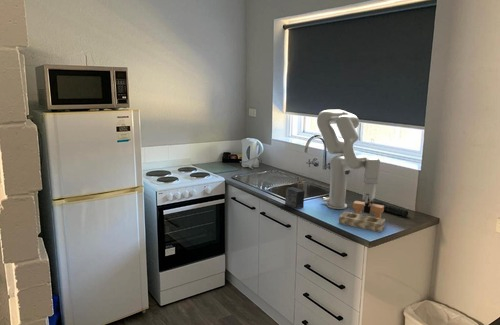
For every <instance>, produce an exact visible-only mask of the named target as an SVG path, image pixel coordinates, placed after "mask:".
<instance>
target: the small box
mask: <svg viewBox="0 0 500 325" xmlns="http://www.w3.org/2000/svg"><path fill="white" fill-rule="evenodd" d="M284 203H285V205H286V206H288V207H291V208H293V209H301V207H302V208H304V204H305V190H302V189H300V188H297V187H294V186H291V187H286V188H285V201H284Z"/></svg>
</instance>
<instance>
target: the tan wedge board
mask: <svg viewBox="0 0 500 325" xmlns="http://www.w3.org/2000/svg"><path fill="white" fill-rule="evenodd" d="M364 205H365V201H359V200H354V202H353V203H352V209H354V212H353V213H356V214H362V210H363V211H364ZM370 212H373V213H374V215H373V217H377V218H382V213H384V212H385V210H384V206H383V205H377V204H373V203H370Z"/></svg>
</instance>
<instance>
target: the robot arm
mask: <svg viewBox="0 0 500 325" xmlns="http://www.w3.org/2000/svg"><path fill="white" fill-rule="evenodd" d="M316 124H317V125H316V126H317V127H318V130H319V132H320V133H321V137H322V139H323V143H324V144H325V146H326V150H327V152H328V153H329V154H330V155H332V156H333V155H335V156H333V157H332V158H331V159H330V162H329V167H330V181H329V182H330V183H329V194H328V195H329V196H328V197H327V196H326V197H324V196H323V197H322V201H323V202H326V203H325V206H326V207H328V208H330V209H334V210H346V209H347V207H348V204H347V203H346V196H347V195H346V193H347V192H346V191H347V181H348V178H347V174H346V171H350V170H353V171H356V170H364V175H363V183H364V186H363V190H362V191H363V192H362V201H364V202H365V205H364V210H363V213H365V214H370V212H371V211H370V203H372V204H373V202H374V199H375V197H376V189H377V185H378V184H379V176H380V175H379V174H380V166H381V160H380V158H376V157H371V156H370V155H365V154H362V155H361V154H360V155H356V154H355V150H354V144H355V143H356V142H357V141H358V140H359V134H358V133H357V131H356V129H358V127H359V125H360V119H359V118H358V117H357V115H355V114H353V113H351V112H348V111H346V110H342V109H326V110H322V111H320V112H319V114H318V115H317V119H316ZM332 125H336V127H337V128H338V131H339V133H340V136H341V137H342V138H341V137H339V136H338V134H337V132H336V130H335V128H334V127H333V126H332Z"/></svg>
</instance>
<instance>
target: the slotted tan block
mask: <svg viewBox="0 0 500 325" xmlns="http://www.w3.org/2000/svg"><path fill="white" fill-rule="evenodd" d="M339 223H341V224H340V225H344V226H349V225H350V226H349V227H353V226H354V228H359V229H360V228H361V229H363V230H369V231H372V232H373V231H375V232H378V233H382V231H383V229H384V228H385V226H386V218H382V217H381V218H377V217H374V216H372V215H366V214H362V213H361V214H356V213H354V212H351V211H350V212H349V211H343V212H342V213H341V214H340V215H339V216H338V224H339Z"/></svg>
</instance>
